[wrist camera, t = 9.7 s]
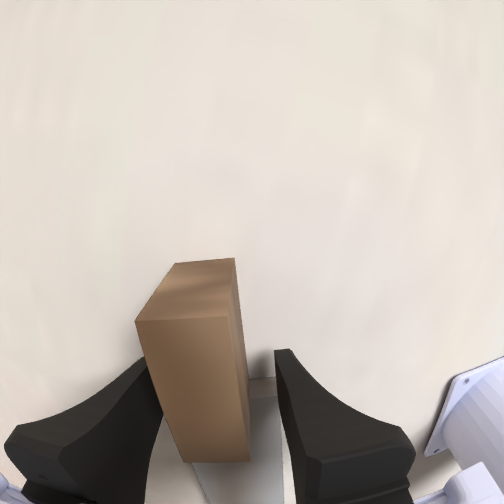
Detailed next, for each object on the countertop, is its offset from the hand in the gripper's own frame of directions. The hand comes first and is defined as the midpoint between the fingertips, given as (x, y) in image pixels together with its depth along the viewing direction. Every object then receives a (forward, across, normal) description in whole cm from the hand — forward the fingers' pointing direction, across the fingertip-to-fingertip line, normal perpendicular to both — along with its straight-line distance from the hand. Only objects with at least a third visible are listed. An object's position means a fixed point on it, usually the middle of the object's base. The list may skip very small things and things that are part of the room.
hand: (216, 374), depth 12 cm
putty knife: (+1, 0, +7) cm, 7 cm away
